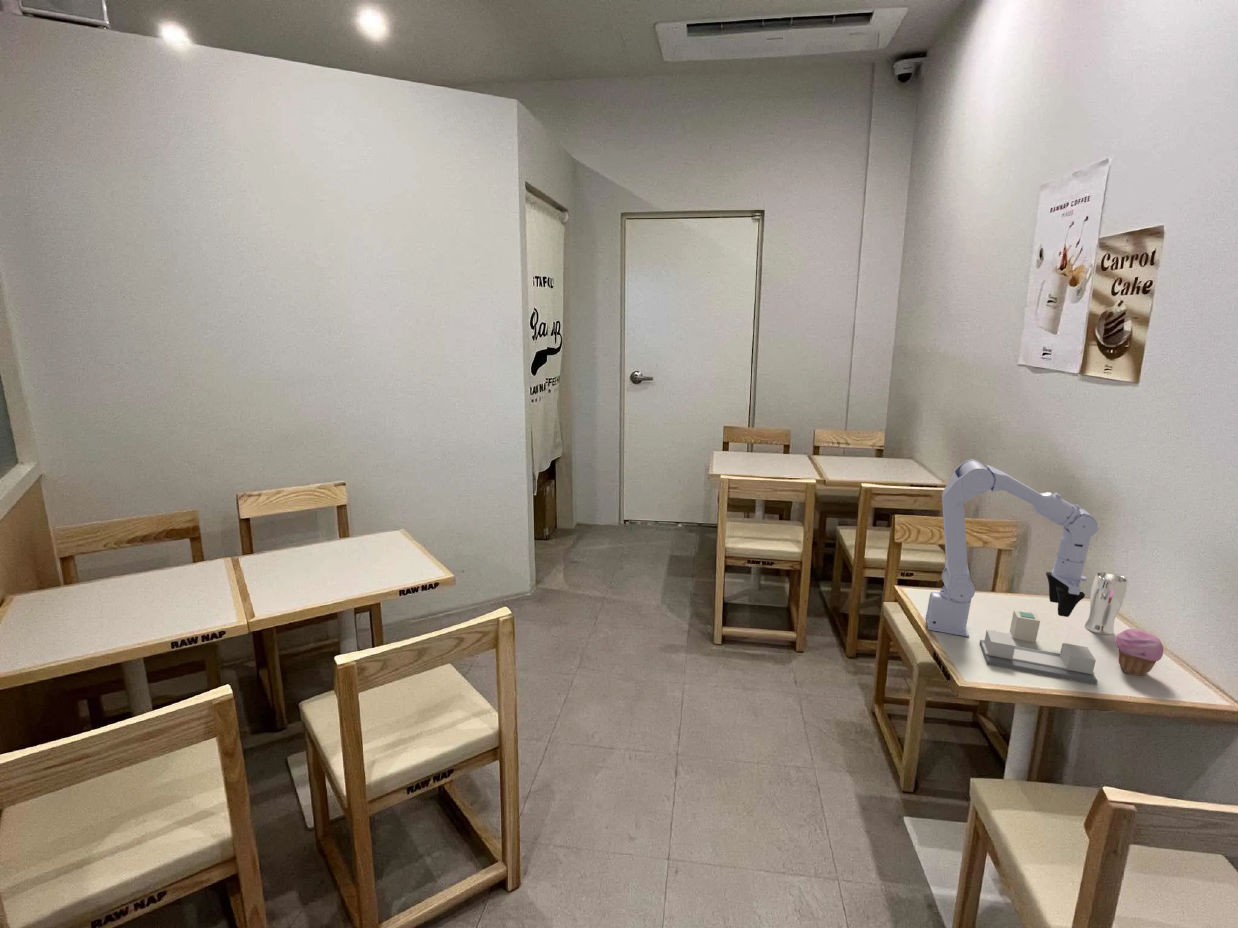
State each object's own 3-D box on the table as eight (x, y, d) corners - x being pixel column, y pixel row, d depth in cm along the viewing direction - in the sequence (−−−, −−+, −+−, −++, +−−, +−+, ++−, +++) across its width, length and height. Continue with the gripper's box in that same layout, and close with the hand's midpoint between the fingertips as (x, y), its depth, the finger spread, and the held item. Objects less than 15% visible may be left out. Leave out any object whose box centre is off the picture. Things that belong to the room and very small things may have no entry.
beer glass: (1086, 632, 168) (1099, 579, 164) (1079, 620, 174) (1091, 569, 170) (1119, 638, 165) (1132, 584, 162) (1110, 626, 172) (1123, 574, 168)
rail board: (986, 663, 152) (990, 645, 151) (979, 643, 161) (982, 625, 160) (1096, 684, 145) (1101, 665, 144) (1082, 661, 154) (1087, 643, 153)
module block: (1012, 638, 164) (1017, 616, 163) (1009, 631, 168) (1014, 609, 166) (1035, 642, 163) (1040, 620, 161) (1031, 634, 166) (1036, 613, 165)
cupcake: (1104, 656, 157) (1114, 619, 154) (1148, 665, 154) (1158, 627, 151) (1116, 676, 149) (1126, 637, 146) (1162, 685, 146) (1174, 645, 143)
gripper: (1100, 572, 148) (1087, 625, 152) (1081, 549, 161) (1069, 599, 165) (1064, 567, 151) (1052, 619, 154) (1048, 545, 164) (1037, 593, 167)
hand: (1058, 608), depth 160 cm, fingers open, 7 cm apart
